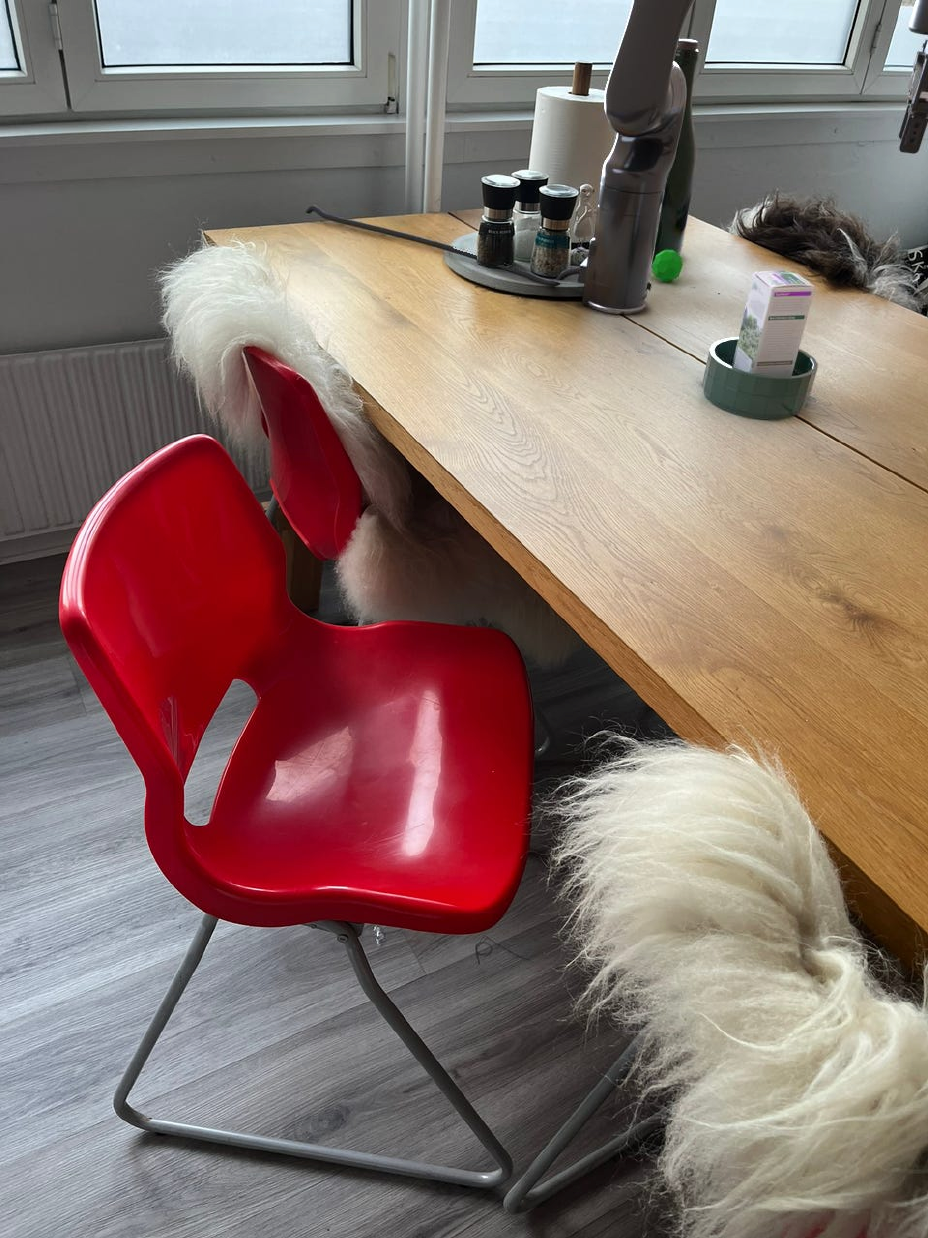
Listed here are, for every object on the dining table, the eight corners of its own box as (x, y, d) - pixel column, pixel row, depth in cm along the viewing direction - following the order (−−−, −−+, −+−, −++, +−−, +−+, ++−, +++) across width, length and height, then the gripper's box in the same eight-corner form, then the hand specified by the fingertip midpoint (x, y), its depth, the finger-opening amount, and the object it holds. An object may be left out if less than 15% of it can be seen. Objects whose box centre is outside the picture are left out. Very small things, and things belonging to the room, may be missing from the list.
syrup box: (786, 400, 119) (819, 285, 110) (743, 402, 118) (772, 285, 109) (767, 382, 123) (797, 269, 114) (725, 383, 122) (752, 269, 113)
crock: (693, 408, 117) (702, 365, 114) (708, 369, 128) (717, 330, 124) (801, 429, 114) (814, 386, 111) (808, 388, 124) (820, 348, 121)
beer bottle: (644, 264, 163) (681, 43, 143) (610, 247, 171) (641, 34, 151) (692, 259, 167) (735, 43, 147) (657, 242, 175) (693, 34, 155)
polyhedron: (684, 280, 158) (690, 250, 155) (673, 287, 155) (678, 257, 152) (656, 273, 160) (661, 244, 157) (645, 280, 157) (650, 251, 154)
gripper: (919, -22, 110) (875, 132, 120) (923, -16, 99) (874, 152, 109) (988, -16, 108) (937, 139, 118) (999, -10, 97) (942, 161, 107)
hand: (907, 145), depth 114 cm, fingers open, 8 cm apart
